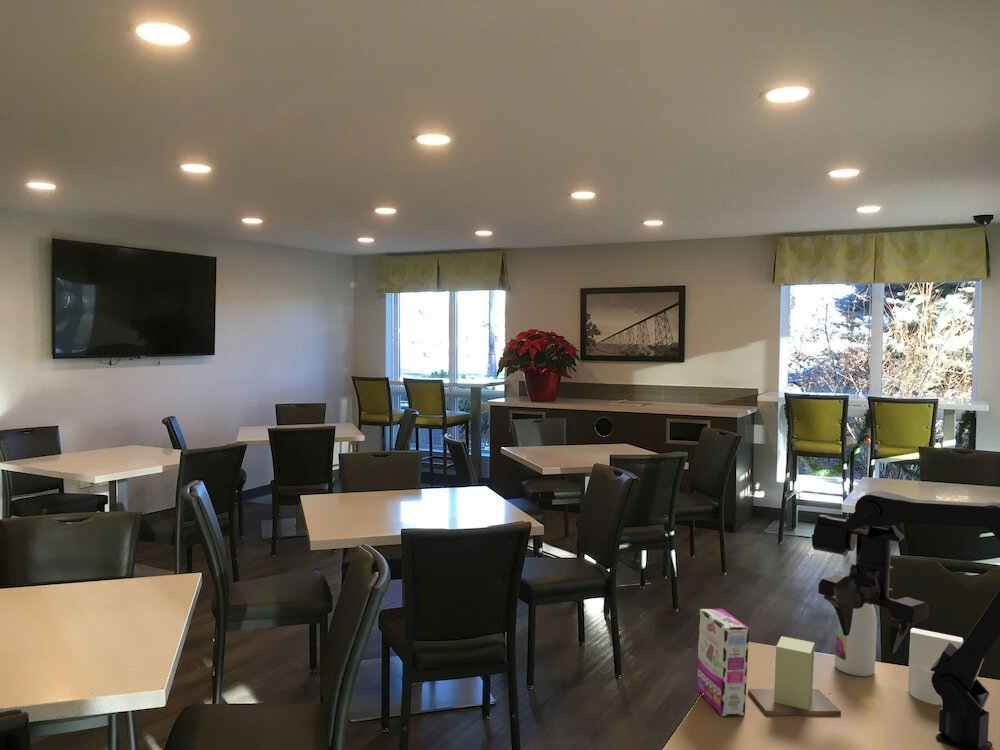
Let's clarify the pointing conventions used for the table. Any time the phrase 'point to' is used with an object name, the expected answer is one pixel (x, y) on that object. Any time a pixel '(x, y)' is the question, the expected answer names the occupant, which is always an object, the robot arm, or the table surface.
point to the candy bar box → (722, 661)
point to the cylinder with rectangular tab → (926, 662)
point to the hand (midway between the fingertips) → (868, 643)
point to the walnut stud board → (769, 707)
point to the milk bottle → (857, 643)
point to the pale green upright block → (794, 672)
